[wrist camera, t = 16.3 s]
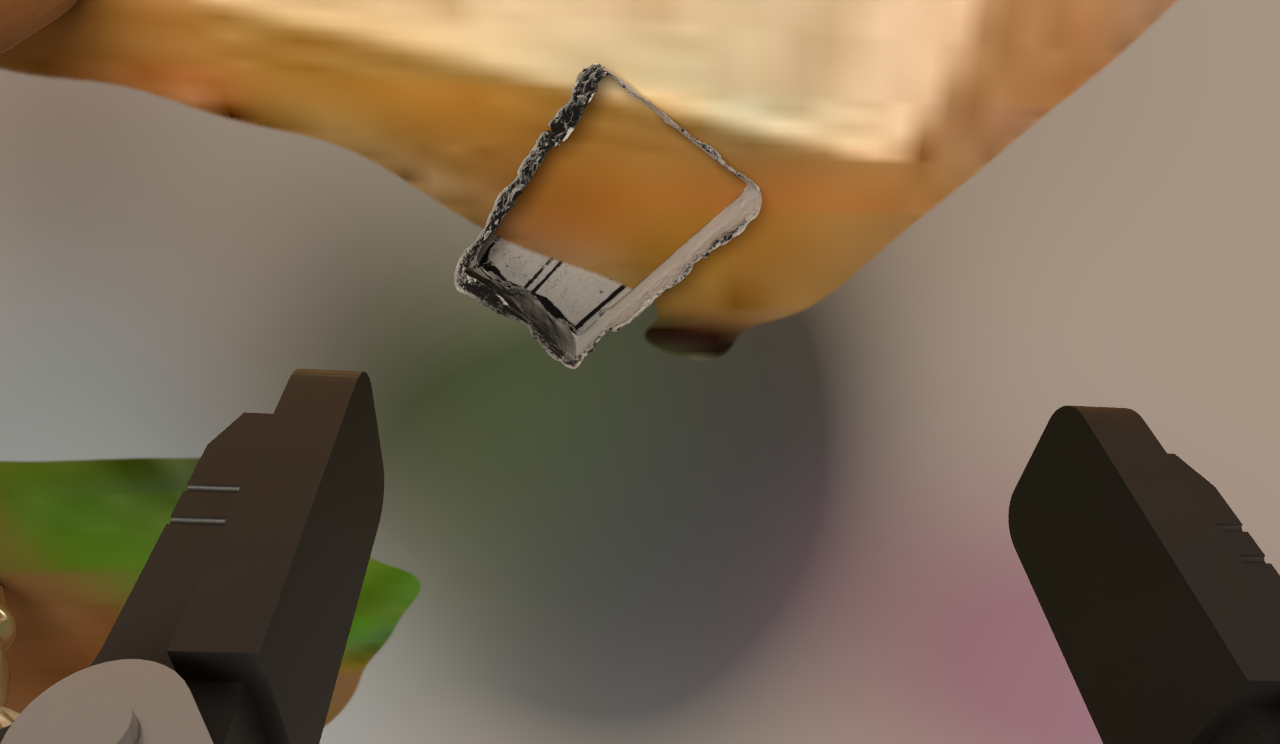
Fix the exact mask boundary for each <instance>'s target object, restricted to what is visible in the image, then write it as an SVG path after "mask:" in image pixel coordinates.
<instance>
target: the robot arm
mask: <svg viewBox="0 0 1280 744" xmlns="http://www.w3.org/2000/svg"><path fill="white" fill-rule="evenodd" d="M77 1H78V0H0V55H1V54H2V53H4V52H6V51H8V50H9V49H11V48H12V47H14V46H16V45H17V44H19V43H20V42H22V41H23V40H25V39H27V38H28V37H30V36H31V35H33V34H35V33H36V32H38V31H39V30H41V29H42V28H44V27H46V26H47V25H49V24H50V23H52V22H53V21H55V20H57V19H58V18H60V17H61V16H62V15H63V14H65V13H66V12H67V11H68V10H69V9H71V8H72V7H73V6H74V5H75V4H76V3H77ZM187 484H188V489H187V491H183V493H182V495H181V497H180V499H179V501H178V503H177V505H176V507H175V509H174V510H173V512H172V514H171V522H170V524H166V526H165V528H164V530H163V532H162V534H161V536H160V538H159V539H158V541H157V543H156V545H155V547H154V549H153V551H152V553H151V555H150V557H149V559H148V561H147V563H146V565H145V566H144V568H143V570H142V572H141V574H140V576H139V578H138V580H137V582H136V584H135V586H134V588H133V590H132V592H131V593H130V595H129V597H128V599H127V601H126V603H125V605H124V607H123V609H122V611H121V613H120V615H119V617H118V619H117V620H116V622H115V624H114V626H113V628H112V630H111V632H110V634H109V636H108V638H107V640H106V642H105V644H104V646H103V647H102V649H101V651H100V652H99V654H98V656H97V657H96V659H95V660H94V662H93V663H92V664H91V665H90V667H88V668H85V669H83V670H80V671H78V672H75V673H73V674H72V675H70V676H68V677H66V678H64V679H62V680H60V681H59V682H57V683H56V684H54V685H53V686H51V687H50V688H48V689H47V690H45V691H44V692H43V693H42V694H40V695H39V696H38V697H37V698H36V699H35V700H33V701H32V702H31V703H30V704H29V705H28V706H27V707H26V708H25V709H24V710H23V711H22V712H21V713H20V715H19V716H18V717H17V718H16V719H15V721H14V722H13V723H12V724H11V725H9V726H7V727H4V728H2V729H0V744H319V742H320V739H321V735H322V731H323V728H324V724H325V720H326V717H327V713H328V709H329V706H330V702H331V698H332V694H333V691H334V687H335V683H336V680H337V676H338V672H339V669H340V665H341V661H342V658H343V654H344V650H345V647H346V643H347V639H348V636H349V632H350V628H351V625H352V621H353V617H354V614H355V610H356V606H357V603H358V599H359V595H360V592H361V588H362V584H363V580H364V577H365V573H366V569H367V566H368V562H369V558H370V555H371V551H372V547H373V544H374V540H375V536H376V533H377V529H378V525H379V521H380V517H381V512H382V504H383V495H384V468H383V461H382V454H381V447H380V440H379V434H378V427H377V420H376V413H375V407H374V400H373V393H372V387H371V382H370V378H369V376H368V374H367V373H366V372H358V371H336V370H335V371H334V370H314V369H297V370H295V371H294V372H293V374H292V375H291V377H290V379H289V381H288V383H287V385H286V388H285V390H284V392H283V394H282V396H281V399H280V401H279V403H278V405H277V407H276V410H275V412H274V414H262V413H261V414H260V413H243V414H242V415H241V416H240V417H239V418H238V419H236V420H235V421H234V422H233V423H232V424H231V425H230V426H229V427H227V428H226V429H225V430H224V431H223V432H222V433H221V434H219V435H218V436H217V437H216V438H215V439H214V440H213V441H211V442H210V443H209V444H208V445H207V447H206V449H205V451H204V453H203V455H202V456H201V458H200V460H199V462H198V464H197V466H196V468H195V470H194V472H193V474H192V476H191V478H190V480H189V482H188V483H187ZM1241 527H1242V523H1241V522H1240V521H1239V519H1238V518H1237V516H1236V515H1235V514H1234V512H1233V511H1232V510H1231V508H1230V507H1229V506H1228V504H1227V503H1226V502H1225V500H1224V499H1223V497H1222V496H1221V495H1220V493H1219V492H1218V490H1217V489H1216V488H1215V487H1214V486H1213V485H1212V484H1210V482H1208V481H1207V480H1206V479H1205V478H1203V477H1202V476H1201V475H1200V474H1199V473H1197V472H1196V471H1195V470H1194V469H1192V468H1191V467H1190V466H1189V465H1187V464H1186V463H1185V462H1184V461H1183V460H1181V459H1180V458H1179V457H1178V456H1176V455H1175V454H1167V453H1166V452H1165V450H1164V449H1163V447H1162V446H1161V444H1160V443H1159V441H1158V440H1157V439H1156V437H1155V436H1154V434H1153V433H1152V431H1151V430H1150V429H1149V427H1148V426H1147V424H1146V423H1145V421H1144V420H1143V419H1142V418H1141V416H1140V415H1139V414H1138V413H1136V412H1135V411H1133V410H1131V409H1127V408H1108V407H1085V406H1063V407H1061V408H1059V409H1058V410H1056V411H1055V413H1054V414H1053V415H1052V417H1051V418H1050V420H1049V422H1048V424H1047V426H1046V428H1045V430H1044V432H1043V434H1042V436H1041V438H1040V440H1039V442H1038V444H1037V446H1036V448H1035V450H1034V452H1033V454H1032V456H1031V458H1030V460H1029V462H1028V464H1027V466H1026V468H1025V470H1024V472H1023V474H1022V476H1021V478H1020V480H1019V482H1018V484H1017V486H1016V488H1015V490H1014V492H1013V494H1012V497H1011V501H1010V506H1009V529H1010V535H1011V539H1012V542H1013V545H1014V547H1015V549H1016V552H1017V554H1018V556H1019V558H1020V561H1021V563H1022V565H1023V567H1024V569H1025V572H1026V574H1027V576H1028V578H1029V580H1030V583H1031V585H1032V587H1033V589H1034V592H1035V594H1036V596H1037V598H1038V600H1039V603H1040V605H1041V607H1042V609H1043V611H1044V614H1045V616H1046V618H1047V620H1048V622H1049V624H1050V627H1051V629H1052V631H1053V633H1054V636H1055V638H1056V640H1057V642H1058V645H1059V647H1060V649H1061V651H1062V653H1063V656H1064V657H1065V660H1066V662H1067V664H1068V667H1069V669H1070V671H1071V673H1072V675H1073V678H1074V680H1075V682H1076V684H1077V686H1078V688H1079V691H1080V693H1081V695H1082V697H1083V700H1084V702H1085V704H1086V706H1087V708H1088V711H1089V713H1090V715H1091V717H1092V720H1093V722H1094V724H1095V726H1096V728H1097V731H1098V733H1099V735H1100V737H1101V739H1102V742H1103V744H1280V576H1279V574H1278V573H1277V571H1276V570H1275V569H1274V567H1273V566H1272V564H1266V563H1265V561H1264V557H1265V555H1264V553H1263V552H1262V551H1261V549H1260V548H1259V547H1258V545H1257V544H1256V543H1255V541H1254V540H1253V538H1252V537H1251V536H1250V534H1249V533H1248V532H1243V531H1242V528H1241Z"/></svg>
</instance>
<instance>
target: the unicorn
mask: <svg viewBox="0 0 1280 744" xmlns="http://www.w3.org/2000/svg"><path fill="white" fill-rule="evenodd" d="M16 634H17V624H16V620H15V617H14V615H13V614H12V612H11V609H10V607H9V605H8V603H7V601H6V598H5V595H4V589H3V587H2V586H0V729H2V728H4V727H7V726H9V725H11V724H12V723H13V722H14V721H15V719H16V718H17V717H18V716H19V715H20V714H19V713H17V712H15V711H13V710H11V709H8V708H5V707H6V705H7V702H8V697H9V690H10V666H9V662H8V658H7V656H6V652H7V651H8V649H9V648H10V646H11V645H12V643H13V641H14V640H15V637H16Z"/></svg>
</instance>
